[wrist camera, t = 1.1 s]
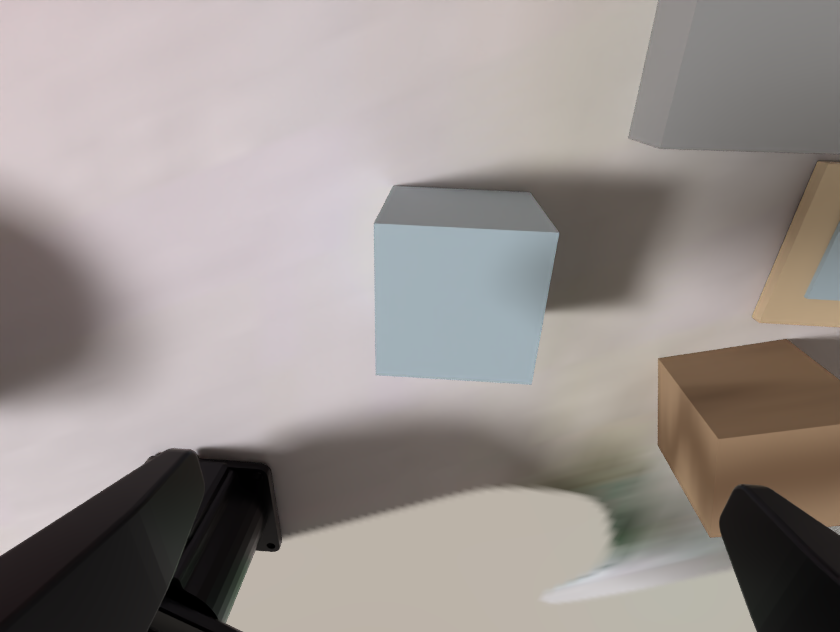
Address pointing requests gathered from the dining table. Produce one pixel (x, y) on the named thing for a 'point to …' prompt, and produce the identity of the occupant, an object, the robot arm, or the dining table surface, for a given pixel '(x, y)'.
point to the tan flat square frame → (808, 259)
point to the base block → (742, 77)
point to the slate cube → (461, 283)
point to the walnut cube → (751, 427)
